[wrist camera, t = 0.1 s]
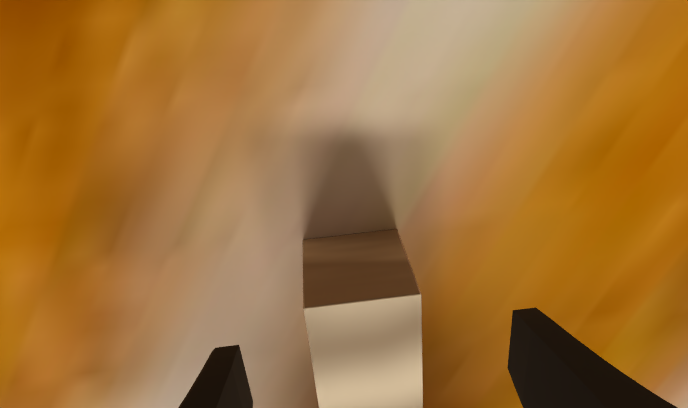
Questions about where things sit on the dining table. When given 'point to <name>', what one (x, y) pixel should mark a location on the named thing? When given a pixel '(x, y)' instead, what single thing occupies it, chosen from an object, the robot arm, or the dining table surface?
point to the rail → (363, 321)
